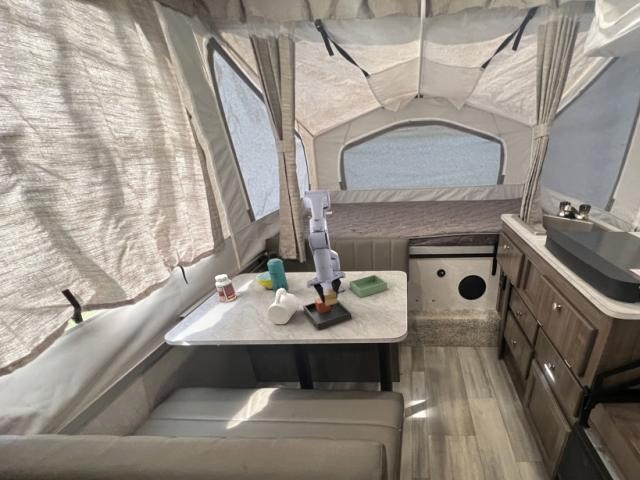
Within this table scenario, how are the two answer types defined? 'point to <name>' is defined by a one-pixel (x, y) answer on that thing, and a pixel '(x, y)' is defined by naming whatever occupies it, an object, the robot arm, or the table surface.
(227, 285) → the pill bottle
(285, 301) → the mug
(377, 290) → the bin
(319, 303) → the terracotta block
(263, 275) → the bowl
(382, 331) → the table surface
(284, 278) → the beverage bottle
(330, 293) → the beech block
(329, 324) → the pan
